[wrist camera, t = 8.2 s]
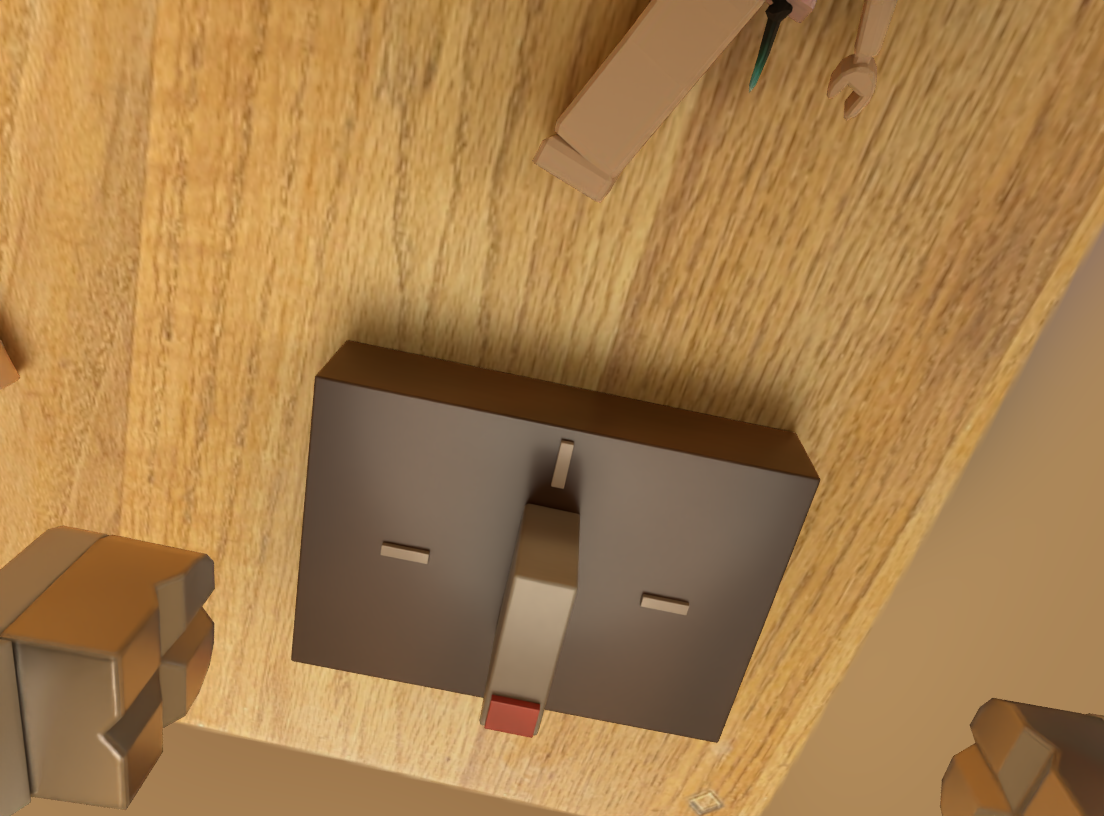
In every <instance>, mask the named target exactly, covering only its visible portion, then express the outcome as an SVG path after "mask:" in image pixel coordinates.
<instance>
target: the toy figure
mask: <svg viewBox="0 0 1104 816" xmlns="http://www.w3.org/2000/svg"><path fill="white" fill-rule="evenodd" d="M764 2H767V3H768V4H770V6H769V7H768V8H767V10H766V11H765V12H766V14H767V17H768V20H767V24H766V28H765V31H764V35H763V39H762V43H761V46H760V50H759V54H758V58H757V61H756V64H755V68H754V71H753V74H752V77H751V80H750V84H749V93H750V92H751V90H752V89H753V88H754V87H755V86H756V83H757V81H758V79H759V76H760V74H761V72H762V70H763V67H764V65H765V63H766V60H767V58H768V56H769V53H770V51H771V48H772V45H773V42H774V39H775V37H776V34H777V31H778V28H779V25H780V22H781V21H782V20H783V19H784V18H786V17H787V16H789V17H790V18H792V19H793V20H795V21H796V22H799V23H801V22H802V21H803V20H804V19H805V18H806V17H807V16H808V15H809V14H810V13H811V12H812V11H813V9H814V7H815V4H816V2H817V0H651V2H650V3H649V4H648V6H647V7H646V8H645V10H644V11H643V12H642V14H641V15H640V16H639V18H638V19H637V20H636V22H635V23H634V24H633V26H632V27H631V28H630V30H629V31H628V32H627V33H626V35H625V36H624V37H623V38H622V40H621V41H620V42H619V43H618V45H617V46H616V47H615V48H614V50H613V51H612V52H611V53H610V55H609V56H608V57H607V58H606V60H605V61H604V62H603V63H602V65H601V66H600V67H599V68H598V70H597V71H596V72H595V73H594V75H593V76H592V77H591V78H590V80H589V81H588V82H587V83H586V85H585V86H584V87H583V88H582V90H581V91H580V92H579V93H578V95H577V96H576V97H575V98H574V100H573V101H572V102H571V103H570V105H569V106H568V107H567V108H566V110H565V111H564V112H563V114H562V115H561V116H560V117H559V119H558V120H557V122H556V126H555V130H554V131H555V132H556V133H557V134H556V135H553V136H551V137H549V138H547V139H545V140H543V141H542V143H541V145H540V147H539V149H538V151H537V153H536V155H535V156H534V158H533V160H532V161H533V162H534V163H535V164H536V165H538V166H539V167H541V168H543V169H544V170H546V171H548V172H549V173H551V174H552V175H554V176H556V177H557V178H559V179H561V180H562V181H564V182H565V183H567V184H569V185H570V186H572V187H573V188H575V189H577V190H578V191H580V192H582V193H583V194H585V195H586V196H588V197H590V198H591V199H593V200H595V201H597V202H599V203H600V202H601V201H602V200H603V199H604V198H605V196H606V195H607V194H608V193H609V192H610V190H611V189H612V187H613V185H614V183H615V182H616V180H617V178H618V177H619V175H620V173H621V171H622V170H623V169H624V168H625V166H626V165H627V164H628V163H629V162H630V160H631V159H632V158H633V157H634V156H635V154H636V153H637V152H638V151H639V150H640V149H641V147H642V146H643V145H644V144H645V143H646V141H647V140H648V139H649V138H650V137H651V136H652V134H653V133H654V132H655V131H656V130H657V128H658V127H659V126H660V125H661V124H662V123H663V121H664V120H665V119H666V118H667V117H668V115H669V114H670V113H671V112H672V111H673V110H674V108H675V107H676V106H677V105H678V104H679V102H680V101H681V100H682V99H683V98H684V96H685V95H686V94H687V93H688V92H689V91H690V89H691V88H692V87H693V86H694V85H695V83H696V82H697V81H698V80H699V79H700V78H701V76H702V75H703V74H704V73H705V72H706V70H707V69H708V68H709V67H710V66H711V65H712V63H713V62H714V61H715V60H716V59H717V58H718V56H719V55H720V54H721V53H722V52H723V50H724V49H725V48H726V47H727V46H728V45H729V43H730V42H731V41H732V40H733V39H734V38H735V36H736V35H737V34H738V33H739V32H740V30H741V29H742V28H743V27H744V26H745V25H746V23H747V22H748V21H749V20H750V19H751V17H752V16H753V15H754V14H755V13H756V12H757V10H758V9H759V8H760V7H761V6H762V4H763V3H764ZM896 3H897V0H865V1H864V6H863V10H862V15H861V19H860V24H859V28H858V33H857V37H856V42H855V54H852V55H850V56H848V57H846V58H844V59H842V61H841V62H840V63H839V65H838V66H837V67H836V69H835V70H834V71H833V73H832V75H831V78H830V82H829V86H828V91H827V96H828V98H833V97H835V96H836V95H837V94H838V93H839V92H841V91H842V90H843V89H844V88H845V87H846V86H847V85H848V86H849V87H850V88H851V89H852V90H853V92H852V93H851V94H850V96H849V97H848V98H847V99H846V101H845V108H844V118H845V119H846V120H849V119H851V118H854V117H856V116H857V115H858V114H859V113H860V112H861V111H862V110H863V108H864V107H865V106H866V105H867V104H868V103H869V101H870V99H871V98H872V96H873V94H874V91H875V87H876V82H877V66H876V63H875V60H874V58H873V57H874V56H876V55H878V53H879V51H880V49H881V47H882V45H883V42H884V39H885V36H886V33H887V30H888V27H889V24H890V21H891V18H892V15H893V12H894V9H895V6H896Z"/></svg>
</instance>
